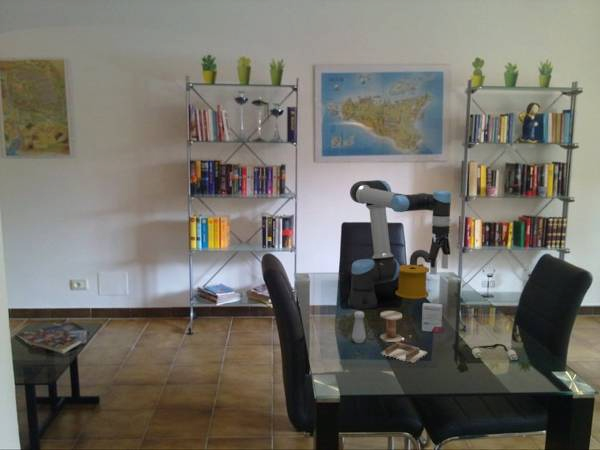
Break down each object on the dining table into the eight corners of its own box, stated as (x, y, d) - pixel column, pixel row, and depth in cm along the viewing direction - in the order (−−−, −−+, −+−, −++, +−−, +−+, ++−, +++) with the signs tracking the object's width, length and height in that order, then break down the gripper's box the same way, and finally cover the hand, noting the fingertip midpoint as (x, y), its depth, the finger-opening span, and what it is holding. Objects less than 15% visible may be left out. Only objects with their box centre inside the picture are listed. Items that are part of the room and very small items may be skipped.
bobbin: (376, 339, 210) (376, 314, 209) (386, 333, 217) (387, 309, 216) (395, 344, 205) (395, 319, 203) (405, 338, 212) (406, 313, 210)
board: (380, 354, 195) (380, 347, 194) (395, 345, 204) (395, 338, 204) (413, 363, 186) (413, 356, 186) (427, 353, 195) (427, 347, 195)
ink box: (442, 329, 222) (443, 303, 221) (441, 332, 218) (442, 307, 216) (422, 327, 225) (423, 302, 223) (421, 330, 220) (422, 305, 219)
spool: (432, 292, 280) (433, 266, 278) (422, 300, 265) (423, 273, 263) (402, 288, 290) (403, 263, 287) (390, 295, 275) (391, 269, 272)
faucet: (426, 286, 292) (427, 253, 289) (401, 283, 300) (401, 250, 297) (436, 280, 307) (437, 248, 304) (411, 276, 315) (412, 246, 312)
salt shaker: (350, 339, 211) (351, 309, 209) (364, 338, 211) (364, 309, 209) (353, 344, 205) (353, 314, 203) (367, 344, 206) (367, 313, 204)
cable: (465, 344, 205) (465, 336, 205) (506, 346, 203) (507, 338, 203) (474, 360, 190) (474, 351, 190) (518, 362, 188) (518, 353, 188)
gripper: (438, 229, 210) (436, 278, 214) (458, 222, 230) (456, 267, 233) (421, 227, 215) (420, 275, 218) (443, 221, 235) (441, 264, 238)
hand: (439, 271), depth 226 cm, fingers open, 13 cm apart
